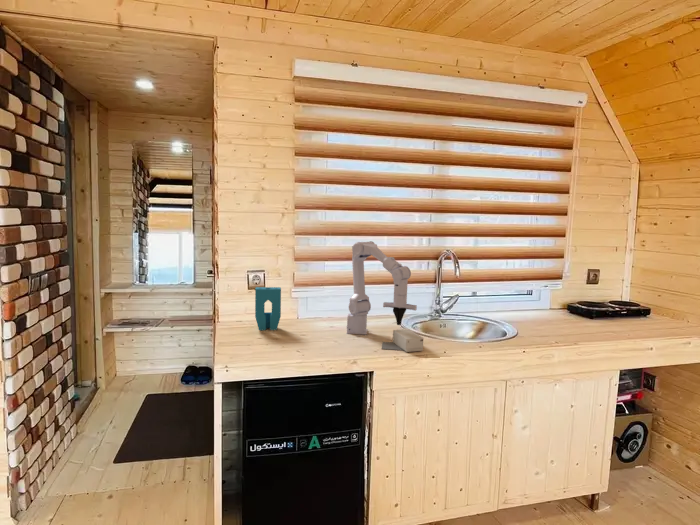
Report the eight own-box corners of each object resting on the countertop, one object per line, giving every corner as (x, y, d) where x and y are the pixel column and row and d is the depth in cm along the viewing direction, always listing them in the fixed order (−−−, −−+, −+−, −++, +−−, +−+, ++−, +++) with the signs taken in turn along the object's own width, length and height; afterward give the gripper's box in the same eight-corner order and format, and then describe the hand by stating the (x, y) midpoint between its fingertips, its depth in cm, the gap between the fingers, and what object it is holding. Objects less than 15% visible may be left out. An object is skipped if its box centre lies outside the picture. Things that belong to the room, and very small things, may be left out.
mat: (381, 349, 197) (381, 348, 197) (382, 342, 207) (382, 341, 207) (414, 351, 196) (414, 350, 196) (413, 344, 205) (413, 343, 205)
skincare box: (392, 341, 207) (405, 353, 193) (392, 329, 206) (405, 339, 192) (409, 340, 209) (423, 351, 195) (410, 328, 209) (424, 338, 194)
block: (280, 327, 226) (280, 287, 224) (280, 330, 221) (281, 289, 219) (255, 327, 224) (255, 287, 222) (255, 330, 219) (255, 289, 217)
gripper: (418, 294, 202) (416, 324, 204) (386, 291, 206) (385, 320, 208) (415, 297, 195) (414, 328, 197) (382, 294, 200) (381, 324, 201)
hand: (398, 324), depth 202 cm, fingers closed
